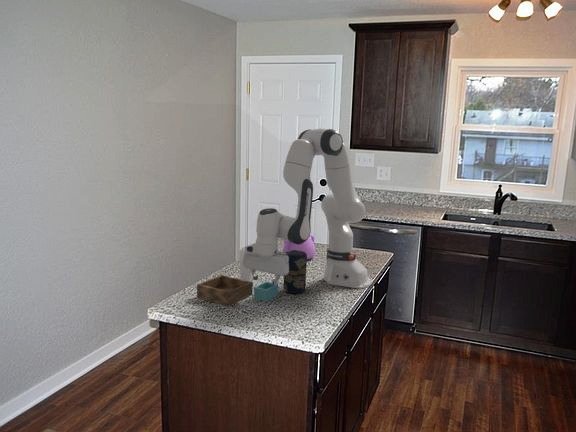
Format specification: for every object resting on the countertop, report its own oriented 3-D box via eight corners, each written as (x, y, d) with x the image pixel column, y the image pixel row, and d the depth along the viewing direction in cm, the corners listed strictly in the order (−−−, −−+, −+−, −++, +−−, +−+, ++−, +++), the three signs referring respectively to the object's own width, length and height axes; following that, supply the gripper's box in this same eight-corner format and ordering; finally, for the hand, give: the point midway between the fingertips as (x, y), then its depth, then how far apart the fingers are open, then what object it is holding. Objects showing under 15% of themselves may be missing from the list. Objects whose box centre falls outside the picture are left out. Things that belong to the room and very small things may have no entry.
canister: (289, 296, 206) (291, 254, 203) (279, 289, 214) (280, 248, 211) (309, 293, 210) (311, 251, 207) (298, 286, 219) (300, 246, 215)
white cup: (251, 284, 219) (252, 251, 216) (236, 282, 220) (237, 249, 218) (255, 279, 226) (256, 247, 223) (241, 278, 227) (241, 246, 224)
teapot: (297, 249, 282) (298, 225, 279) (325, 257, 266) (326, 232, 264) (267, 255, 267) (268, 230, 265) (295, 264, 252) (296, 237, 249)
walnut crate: (252, 294, 206) (252, 281, 205) (229, 306, 192) (229, 292, 191) (221, 287, 214) (221, 274, 213) (197, 297, 200) (197, 284, 199)
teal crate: (277, 295, 207) (278, 284, 206) (266, 302, 199) (266, 290, 198) (265, 292, 209) (265, 281, 208) (253, 299, 202) (254, 287, 201)
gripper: (292, 251, 198) (290, 285, 200) (250, 243, 208) (248, 275, 210) (284, 255, 192) (282, 289, 195) (241, 246, 202) (240, 279, 205)
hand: (264, 282), depth 203 cm, fingers open, 8 cm apart
